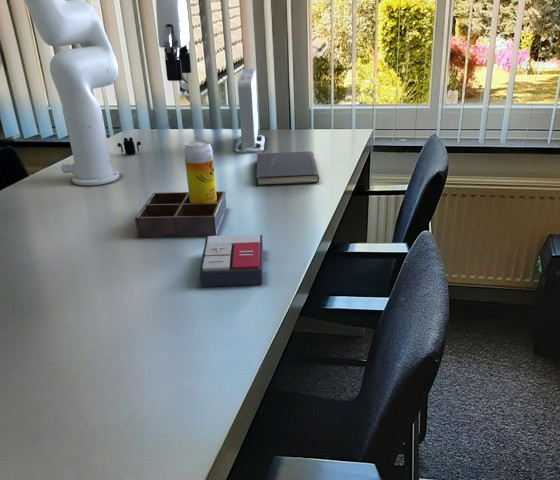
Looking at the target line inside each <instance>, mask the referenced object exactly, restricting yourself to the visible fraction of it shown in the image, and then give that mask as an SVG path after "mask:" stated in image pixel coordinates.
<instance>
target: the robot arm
mask: <svg viewBox="0 0 560 480" xmlns="http://www.w3.org/2000/svg"><path fill="white" fill-rule="evenodd" d="M23 2H24V4H25V6H26V8H27V10H28V12H29V15H30V17H31V19H32V21H33V24H34V26H35V28H36V30H37V32H38V34H39V36H40V38H41V39H42V41H43V42H44V43H45V44H46V45H48V46H50V47H66V46H73V45H79V46H80V47H75V48H70V49H69V48H68V49H64V50H61V51H59V52H57V53H55V54H54V55H53V56H52V58H51V60H50V62H49V73H50V76H51V80H52V82H53V85H54V87H55V89H56V92H57V94H58V97H59V101H60V105H61V109H62V113H63V116H64V121H65V126H66V130H67V135H68V139H69V144H70V149H71V153H72V158H73V163H72V164H69V163H64V164H61V166H60V168H61V171H62V173H63V174H72V177H71V181H72V183H73V184H75V185H77V186H78V185H79V186H90V187H91V186H99V185H105V184H109V183H112V182H115V181H117V180H118V179H119V178H120V175H121V174H120V171H118V170H117V169H114V168H113V165H112V164H113V163H112V159H111V153H110V148H109V143H108V137H107V132H106V127H105V122H104V116H103V112H102V111H103V110H102V107H101V105H100V103H99V101H98V100H97V98H96V97H95V96H94V95H93V93H92V91H91V90H94V89H98V88H105V87H108V86H111V85H113V84H115V82H116V81H117V80H118V77H119V65H118V60H117V57H116V55H115V53H114V50H113V47H112V44H111V43H110V40H109V38H108V36H107V33H106V31H105V28H104V26H103V24H102V20H101V18H100V17H99V14H98V13H97V11H96V10H95V9H94V7H93V6H92V5H91V4H90V3H88V2H87V1H85V0H23ZM155 11H156V25H157V38H158V39H157V40H158V47H159V48H161V50H163V52H164V62H165V63H164V64H165V73H166V79H167V81H168V82H181V81H183V74H191V73H192V64H191V53H190V46H189V43H190V25H189V23H190V22H189V14H188V6H187V0H155Z"/></svg>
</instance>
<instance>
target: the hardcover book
mask: <svg viewBox="0 0 560 480" xmlns="http://www.w3.org/2000/svg"><path fill="white" fill-rule="evenodd" d="M255 175H256V176H255V178H256V187H264V186H265V187H267V186H290V185H291V186H293V185H312V184H314V185H315V184H318V183H319V182H320V174H319V171H318V167H317V163H316V159H315V155H314V152H313V151H308V150H307V151H285V152H266V153H263V152H262V153H257V154H256V174H255Z"/></svg>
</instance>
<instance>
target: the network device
mask: <svg viewBox="0 0 560 480" xmlns="http://www.w3.org/2000/svg"><path fill="white" fill-rule="evenodd" d="M256 78H257V76H256V69H255V68H249V69H248V68H247V69H246V68H245V69H244V68H243V69H242V70H241V73H240V75H239V77H238V80H237V91H238V92H237V93H238V94H237V95H238V105H239V120H240V123H239V124H240V136H239V137H237V140H236V143H235V146H234V147H235V148H234V151H235V152H236V153H239V154H240V153H242V154H244V153H245V154H246V153H260V152H262V151H264V149H265V143H266V142H265V140H266V137H265V135H258V134H259V120H258V119H259V117H258V116H259V115H258V98H257V97H258V96H257V79H256ZM257 139H261V140H257ZM257 146H259V148H256V147H257ZM240 147H242V149H239V148H240Z"/></svg>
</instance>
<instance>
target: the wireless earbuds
mask: <svg viewBox="0 0 560 480" xmlns="http://www.w3.org/2000/svg"><path fill="white" fill-rule="evenodd" d="M141 145H142V142H141V141H137V142H136V144H135V142H134V138H133V137H131V136H130V137H129V138H127V137H124V138H123V144H122V143H121V142H118V143H117V147H118V148H120V150H121V153H125V155H127V156H131V155H136V149H137V152H140V148H139V146H141ZM123 148H124V149H123Z"/></svg>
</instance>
